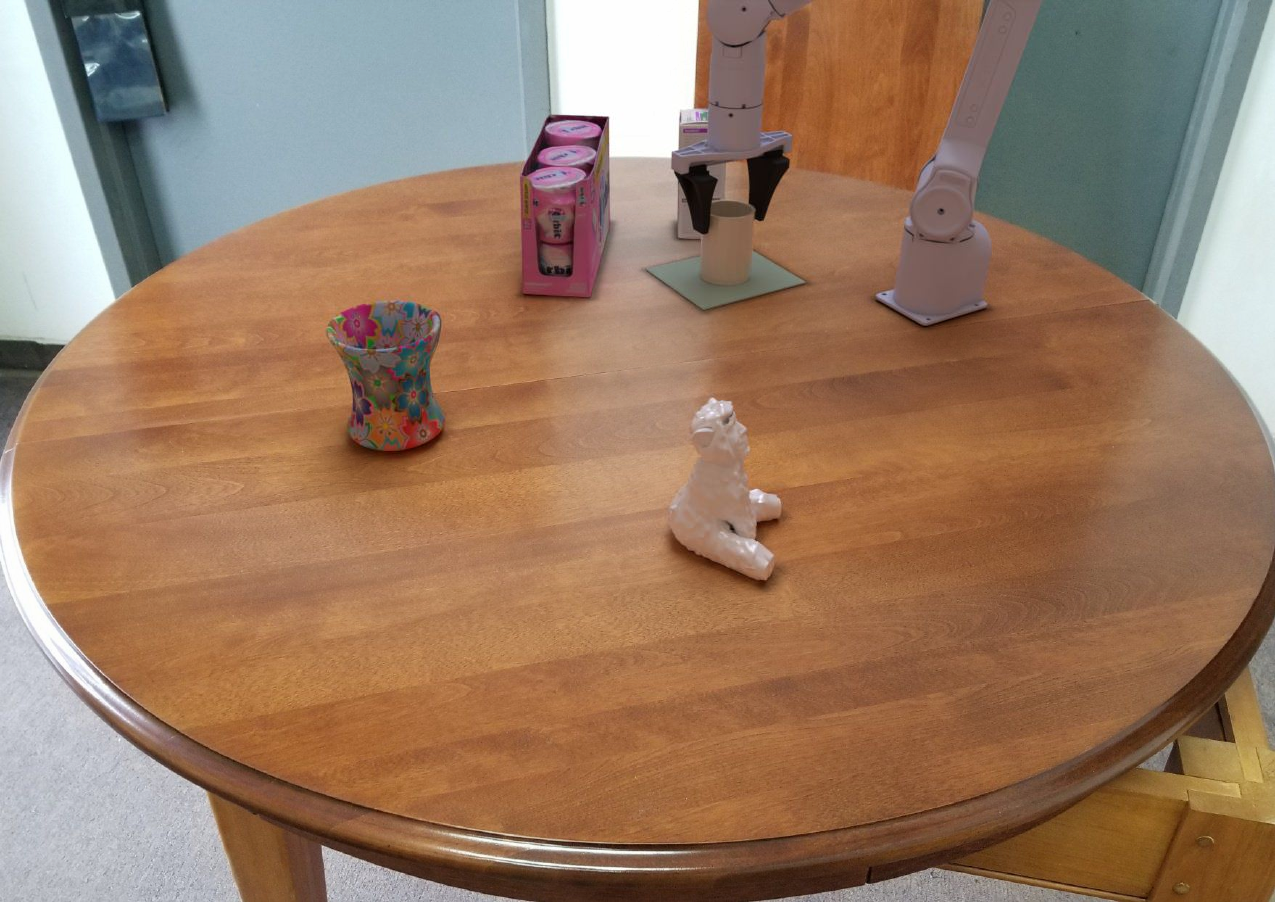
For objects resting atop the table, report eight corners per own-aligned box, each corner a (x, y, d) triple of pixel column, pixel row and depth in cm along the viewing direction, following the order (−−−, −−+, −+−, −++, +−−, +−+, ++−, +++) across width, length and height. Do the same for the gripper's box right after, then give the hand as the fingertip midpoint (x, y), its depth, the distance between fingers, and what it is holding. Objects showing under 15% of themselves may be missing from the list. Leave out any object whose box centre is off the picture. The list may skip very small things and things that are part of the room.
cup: (731, 261, 127) (735, 196, 122) (760, 279, 122) (765, 212, 118) (689, 271, 124) (692, 205, 120) (718, 290, 120) (722, 222, 116)
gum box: (591, 304, 117) (589, 183, 110) (519, 301, 118) (513, 180, 110) (611, 221, 137) (611, 115, 129) (549, 219, 137) (545, 112, 130)
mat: (744, 247, 131) (744, 245, 131) (805, 283, 122) (805, 281, 122) (646, 270, 125) (646, 268, 125) (703, 310, 116) (703, 308, 116)
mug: (407, 471, 90) (393, 360, 84) (321, 443, 94) (302, 334, 88) (487, 406, 99) (479, 301, 93) (406, 382, 103) (393, 280, 97)
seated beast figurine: (772, 587, 78) (787, 451, 72) (656, 573, 80) (660, 437, 73) (781, 511, 86) (794, 381, 80) (675, 499, 87) (679, 370, 81)
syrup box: (723, 240, 132) (730, 122, 124) (675, 239, 132) (679, 121, 124) (721, 222, 137) (727, 108, 129) (675, 221, 137) (678, 107, 129)
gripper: (768, 83, 118) (760, 201, 126) (656, 101, 112) (654, 224, 120) (808, 98, 113) (797, 221, 121) (693, 118, 107) (689, 246, 115)
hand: (728, 224), depth 120 cm, fingers open, 7 cm apart
